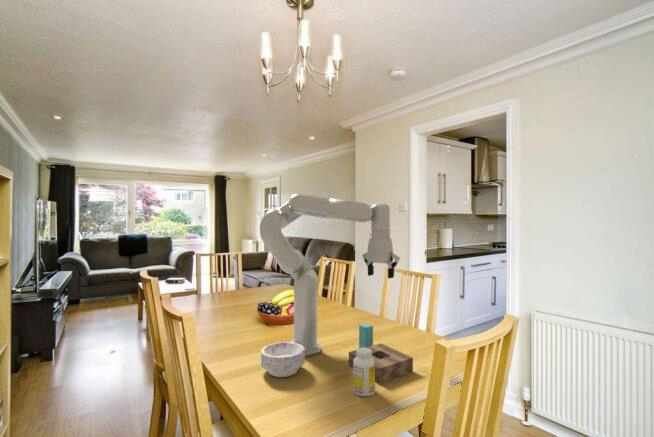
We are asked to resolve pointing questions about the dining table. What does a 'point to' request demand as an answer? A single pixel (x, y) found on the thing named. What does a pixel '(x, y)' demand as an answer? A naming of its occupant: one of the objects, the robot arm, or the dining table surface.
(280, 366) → the paper bowls
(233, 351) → the dining table surface
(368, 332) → the peg
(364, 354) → the supplement bottle
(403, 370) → the socket block
